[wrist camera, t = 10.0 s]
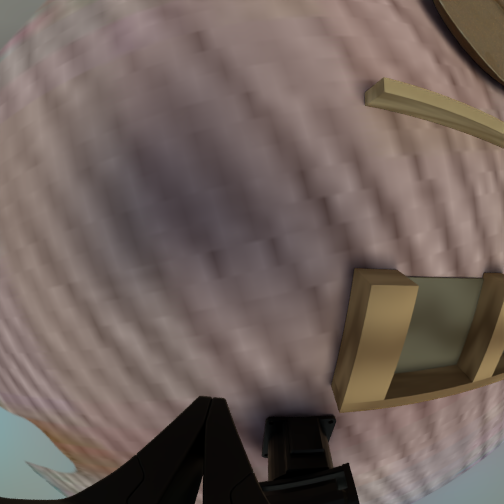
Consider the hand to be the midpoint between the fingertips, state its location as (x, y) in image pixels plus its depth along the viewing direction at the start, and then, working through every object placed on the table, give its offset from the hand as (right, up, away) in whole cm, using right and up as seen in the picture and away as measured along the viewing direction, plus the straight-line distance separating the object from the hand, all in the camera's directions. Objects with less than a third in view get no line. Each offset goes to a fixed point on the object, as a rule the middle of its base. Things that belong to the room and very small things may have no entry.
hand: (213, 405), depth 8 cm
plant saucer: (+25, +28, +5) cm, 38 cm away
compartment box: (+22, +4, +11) cm, 25 cm away
